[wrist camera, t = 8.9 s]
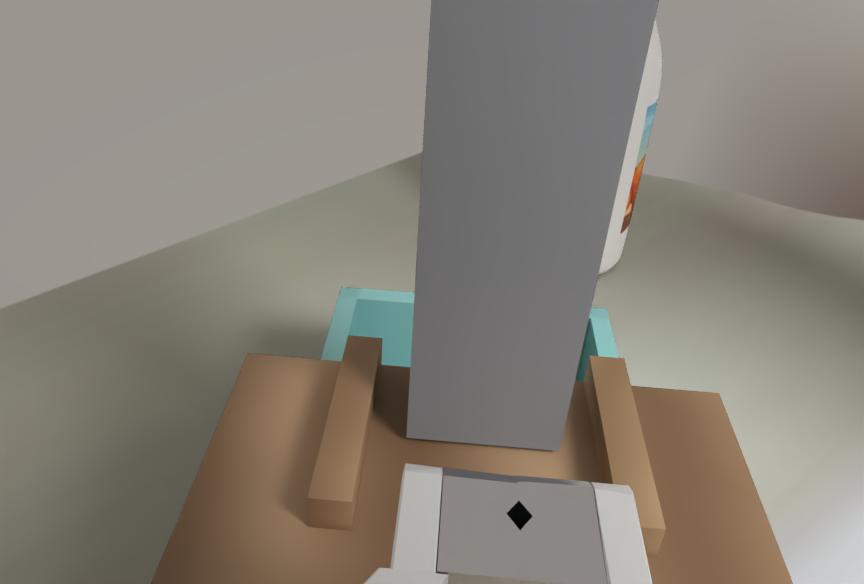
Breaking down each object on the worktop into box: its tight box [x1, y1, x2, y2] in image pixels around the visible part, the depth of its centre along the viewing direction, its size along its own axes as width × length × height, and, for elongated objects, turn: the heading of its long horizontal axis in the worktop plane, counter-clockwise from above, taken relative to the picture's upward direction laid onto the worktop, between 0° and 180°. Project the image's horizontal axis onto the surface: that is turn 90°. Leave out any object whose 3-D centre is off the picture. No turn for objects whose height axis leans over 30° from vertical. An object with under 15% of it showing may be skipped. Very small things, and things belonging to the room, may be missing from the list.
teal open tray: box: [320, 287, 619, 382], centre depth 30 cm, size 12×10×6 cm
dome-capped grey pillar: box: [406, 0, 659, 451], centre depth 17 cm, size 4×4×13 cm
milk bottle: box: [598, 21, 662, 275], centre depth 43 cm, size 8×8×20 cm
